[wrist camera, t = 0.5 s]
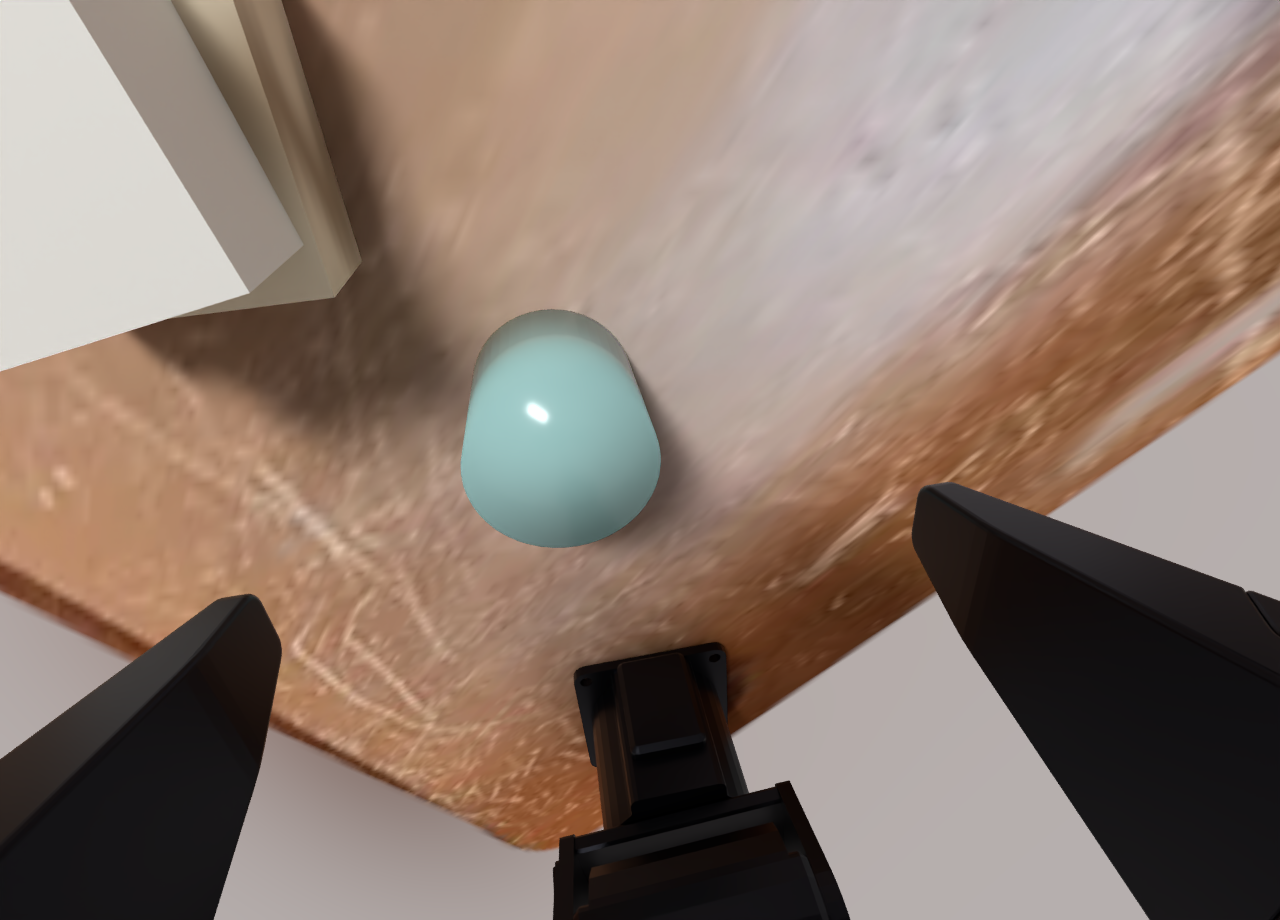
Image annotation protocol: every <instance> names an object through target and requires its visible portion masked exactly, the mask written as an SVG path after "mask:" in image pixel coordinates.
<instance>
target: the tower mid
mask: <svg viewBox="0 0 1280 920" xmlns="http://www.w3.org/2000/svg"><path fill="white" fill-rule="evenodd" d="M303 245H304V244H303V242H302V240H301V238H300V237H299V235H298V233H297V231H296V229H295V227H294V226H293V224H292V222H291V220H290V218H289V216H288V215H287V213H286V211H285V209H284V207H283V205H282V204H281V202H280V200H279V198H278V196H277V194H276V192H275V191H274V189H273V187H272V185H271V183H270V181H269V180H268V178H267V176H266V174H265V172H264V170H263V169H262V167H261V165H260V163H259V161H258V159H257V158H256V156H255V154H254V152H253V150H252V148H251V147H250V145H249V143H248V141H247V139H246V137H245V136H244V134H243V132H242V130H241V128H240V126H239V125H238V123H237V121H236V119H235V117H234V115H233V113H232V112H231V110H230V108H229V106H228V104H227V102H226V101H225V99H224V97H223V95H222V93H221V91H220V90H219V88H218V86H217V84H216V82H215V80H214V79H213V77H212V75H211V73H210V71H209V69H208V68H207V66H206V64H205V62H204V60H203V58H202V57H201V55H200V53H199V51H198V49H197V47H196V46H195V44H194V42H193V40H192V38H191V36H190V35H189V33H188V31H187V29H186V27H185V25H184V24H183V22H182V20H181V18H180V16H179V14H178V13H177V11H176V9H175V7H174V5H173V3H172V2H171V0H0V371H3V370H6V369H9V368H12V367H16V366H19V365H22V364H25V363H28V362H32V361H35V360H38V359H41V358H44V357H48V356H51V355H54V354H57V353H60V352H63V351H67V350H70V349H73V348H76V347H79V346H83V345H86V344H89V343H92V342H95V341H99V340H102V339H105V338H108V337H111V336H114V335H118V334H121V333H124V332H127V331H130V330H134V329H137V328H140V327H143V326H146V325H150V324H153V323H156V322H159V321H162V320H165V319H169V318H172V317H175V316H178V315H181V314H185V313H188V312H191V311H194V310H197V309H201V308H204V307H207V306H210V305H213V304H216V303H220V302H223V301H226V300H229V299H232V298H236V297H239V296H242V295H245V294H248V293H250V292H252V291H253V290H254V289H255V288H256V287H257V286H258V285H259V284H261V283H262V282H263V281H264V280H265V279H266V278H267V277H268V276H270V275H271V274H272V273H273V272H274V271H275V270H276V269H277V268H279V267H280V266H281V265H282V264H283V263H284V262H285V261H286V260H288V259H289V258H290V257H291V256H292V255H293V254H294V253H295V252H297V251H298V250H299V249H300V248H301V247H302V246H303Z"/></svg>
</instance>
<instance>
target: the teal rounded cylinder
mask: <svg viewBox="0 0 1280 920" xmlns="http://www.w3.org/2000/svg"><path fill="white" fill-rule="evenodd" d="M660 466H661V454H660V448H659V442H658V439H657V436H656V433H655V430H654V428H653V425H652V422H651V420H650V417H649V414H648V411H647V409H646V406H645V403H644V401H643V398H642V395H641V393H640V390H639V387H638V385H637V382H636V379H635V376H634V374H633V371H632V368H631V366H630V363H629V360H628V358H627V355H626V353H625V351H624V349H623V347H622V346H621V344H620V343H619V341H618V340H617V339H616V338H615V337H614V335H613V334H612V333H611V332H610V331H609V330H607V329H606V328H605V327H604V326H603V325H601V324H600V323H598V322H596V321H595V320H593V319H591V318H589V317H587V316H585V315H582V314H579V313H575V312H571V311H566V310H554V309H550V310H539V311H534V312H529V313H527V314H524V315H521V316H518V317H516V318H514V319H512V320H510V321H509V322H507V323H506V324H504V325H503V326H501V327H500V328H499V329H498V330H496V331H495V332H494V333H493V334H492V335H491V336H490V338H489V339H488V340H487V341H486V343H485V344H484V346H483V347H482V349H481V351H480V353H479V355H478V357H477V360H476V363H475V367H474V372H473V379H472V386H471V393H470V400H469V407H468V414H467V421H466V428H465V435H464V442H463V449H462V457H461V476H462V481H463V486H464V489H465V491H466V494H467V497H468V498H469V500H470V502H471V504H472V506H473V507H474V508H475V510H476V511H477V512H478V514H479V515H480V516H481V517H482V518H483V519H484V520H485V521H486V522H487V523H488V524H489V525H491V526H492V527H493V528H495V529H496V530H497V531H499V532H501V533H502V534H504V535H506V536H508V537H510V538H512V539H515V540H517V541H520V542H523V543H526V544H530V545H535V546H540V547H551V548H564V547H573V546H579V545H584V544H588V543H592V542H595V541H598V540H600V539H603V538H605V537H607V536H609V535H611V534H613V533H615V532H616V531H618V530H620V529H621V528H623V527H624V526H625V525H627V524H628V523H629V522H631V521H632V520H633V519H634V518H635V517H636V516H637V515H638V514H639V513H640V511H641V510H642V509H643V508H644V507H645V505H646V504H647V502H648V501H649V499H650V498H651V496H652V494H653V491H654V489H655V487H656V484H657V481H658V478H659V473H660Z"/></svg>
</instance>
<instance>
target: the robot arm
mask: <svg viewBox="0 0 1280 920" xmlns="http://www.w3.org/2000/svg"><path fill="white" fill-rule="evenodd" d="M912 542H913V546H914V549H915V551H916V553H917V555H918V557H919V559H920V561H921V563H922V565H923V567H924V569H925V570H926V572H927V574H928V576H929V578H930V580H931V582H932V584H933V586H934V588H935V590H936V591H937V593H938V595H939V597H940V599H941V601H942V603H943V605H944V607H945V609H946V611H947V612H948V614H949V616H950V618H951V620H952V622H953V624H954V626H955V627H956V629H957V631H958V633H959V634H960V636H961V638H962V640H963V641H964V643H965V644H966V646H967V648H968V649H969V651H970V652H971V654H972V655H973V657H974V658H975V660H976V661H977V663H978V664H979V666H980V667H981V669H982V670H983V672H984V673H985V675H986V676H987V678H988V679H989V681H990V682H991V683H992V685H993V687H994V688H995V690H996V691H997V693H998V694H999V696H1000V697H1001V699H1002V700H1003V702H1004V703H1005V705H1006V706H1007V707H1008V709H1009V710H1010V712H1011V713H1012V715H1013V717H1014V718H1015V720H1016V721H1017V723H1018V724H1019V725H1020V727H1021V729H1022V730H1023V731H1024V733H1025V734H1026V736H1027V737H1028V739H1029V740H1030V742H1031V743H1032V745H1033V746H1034V748H1035V749H1036V751H1037V752H1038V754H1039V755H1040V757H1041V758H1042V760H1043V761H1044V763H1045V764H1046V766H1047V767H1048V769H1049V770H1050V772H1051V773H1052V775H1053V776H1054V778H1055V779H1056V781H1057V782H1058V784H1059V785H1060V787H1061V788H1062V790H1063V791H1064V793H1065V794H1066V796H1067V797H1068V799H1069V800H1070V802H1071V803H1072V805H1073V806H1074V808H1075V809H1076V811H1077V812H1078V814H1079V815H1080V816H1081V818H1082V819H1083V821H1084V822H1085V824H1086V826H1087V827H1088V829H1089V830H1090V831H1091V833H1092V834H1093V836H1094V837H1095V839H1096V840H1097V842H1098V843H1099V845H1100V846H1101V848H1102V849H1103V851H1104V852H1105V854H1106V855H1107V857H1108V858H1109V860H1110V861H1111V863H1112V864H1113V866H1114V867H1115V869H1116V870H1117V872H1118V873H1119V875H1120V876H1121V878H1122V879H1123V881H1124V882H1125V883H1126V885H1127V887H1128V888H1129V890H1130V891H1131V893H1132V894H1133V896H1134V897H1135V899H1136V900H1137V902H1138V903H1139V905H1140V906H1141V907H1142V909H1143V911H1144V912H1145V914H1146V915H1147V917H1148V918H1149V920H1280V601H1278V600H1276V599H1273V598H1270V597H1267V596H1265V595H1262V594H1259V593H1256V592H1254V591H1247V592H1245V590H1244V589H1243V588H1242V587H1239V586H1237V585H1234V584H1231V583H1228V582H1226V581H1223V580H1220V579H1217V578H1214V577H1212V576H1209V575H1206V574H1204V573H1201V572H1198V571H1195V570H1192V569H1190V568H1187V567H1184V566H1181V565H1179V564H1176V563H1173V562H1171V561H1167V560H1165V559H1162V558H1160V557H1157V556H1154V555H1151V554H1149V553H1146V552H1143V551H1140V550H1138V549H1135V548H1132V547H1129V546H1126V545H1124V544H1121V543H1118V542H1116V541H1113V540H1110V539H1107V538H1105V537H1102V536H1099V535H1096V534H1093V533H1091V532H1088V531H1085V530H1082V529H1080V528H1077V527H1074V526H1072V525H1069V524H1066V523H1063V522H1061V521H1058V520H1055V519H1052V518H1050V517H1047V516H1044V515H1041V514H1039V513H1036V512H1033V511H1030V510H1028V509H1025V508H1022V507H1019V506H1017V505H1014V504H1011V503H1008V502H1006V501H1003V500H1000V499H997V498H995V497H992V496H989V495H986V494H984V493H981V492H978V491H975V490H972V489H970V488H967V487H964V486H961V485H959V484H956V483H953V482H945V483H939V484H932V485H926V486H924V487H923V488H921V490H920V491H919V493H918V497H917V503H916V509H915V515H914V521H913V527H912ZM713 654H714V655H713ZM281 656H282V648H281V642H280V639H279V636H278V634H277V632H276V630H275V628H274V626H273V624H272V622H271V620H270V618H269V616H268V614H267V612H266V610H265V608H264V606H263V605H262V603H261V601H260V600H259V598H258V597H256V596H255V595H252V594H244V595H237V596H231V597H225V598H221V599H218V600H216V601H214V602H213V603H212V604H210V605H209V606H208V607H206V608H205V609H204V610H202V611H201V612H199V613H198V614H197V615H195V616H194V617H193V618H191V619H190V620H189V621H187V622H186V623H185V624H183V625H182V626H180V627H179V628H178V629H176V630H175V631H174V632H172V633H171V634H170V635H168V636H167V637H166V638H164V639H163V640H161V641H160V642H159V643H157V644H156V645H155V646H153V647H152V648H151V649H149V650H148V651H147V652H145V653H144V654H142V655H141V656H140V657H138V658H137V659H136V660H134V661H133V662H132V663H130V664H129V665H128V666H126V667H125V668H124V669H122V670H121V671H119V672H118V673H117V674H115V675H114V676H113V677H111V678H110V679H109V680H108V681H106V682H104V683H103V684H102V685H100V686H99V687H98V688H96V689H95V690H94V691H92V692H91V693H90V694H88V695H87V696H85V697H84V698H83V699H81V700H80V701H79V702H77V703H76V704H75V705H73V706H72V707H71V708H69V709H68V710H66V711H65V712H64V713H62V714H61V715H60V716H58V717H57V718H56V719H54V720H53V721H52V722H50V723H49V724H48V725H46V726H45V727H43V728H42V729H41V730H39V731H38V732H37V733H35V734H34V735H33V736H31V737H30V738H28V739H27V740H26V741H24V742H23V743H22V744H20V745H19V746H18V747H16V748H15V749H14V750H12V751H11V752H9V753H8V754H7V755H6V756H4V757H3V758H1V759H0V920H214V916H215V913H216V909H217V907H218V904H219V900H220V897H221V894H222V891H223V887H224V884H225V881H226V878H227V874H228V871H229V868H230V865H231V861H232V858H233V855H234V852H235V848H236V845H237V842H238V839H239V836H240V832H241V829H242V826H243V822H244V819H245V816H246V813H247V810H248V806H249V803H250V800H251V797H252V794H253V790H254V787H255V783H256V780H257V776H258V773H259V769H260V765H261V761H262V756H263V751H264V747H265V742H266V736H267V731H268V726H269V721H270V715H271V710H272V705H273V700H274V694H275V689H276V684H277V678H278V673H279V668H280V663H281ZM585 678H587V679H585ZM574 686H575V690H576V695H577V700H578V704H579V709H580V714H581V719H582V723H583V728H584V733H585V738H586V742H587V747H588V752H589V756H590V761H591V764H592V765H593V766H595V767H597V773H598V782H599V791H600V800H601V809H602V817H603V826H604V830H601V831H597V832H593V833H589V834H585V835H581V836H577V837H575V835H574V834H573V835H570V836H566V837H562V838H560V842H559V861H556V862H555V867H554V868H553V882H554V908H553V920H850V917H849V914H848V911H847V908H846V906H845V903H844V900H843V897H842V895H841V892H840V889H839V887H838V884H837V882H836V879H835V877H834V875H833V873H832V870H831V868H830V866H829V864H828V862H827V860H826V858H825V855H824V853H823V851H822V849H821V847H820V845H819V843H818V840H817V838H816V836H815V834H814V832H813V830H812V828H811V826H810V823H809V821H808V819H807V817H806V815H805V813H804V811H803V808H802V806H801V804H800V802H799V800H798V798H797V796H796V794H795V791H794V789H793V787H792V785H791V783H790V781H785V782H781V783H777V784H775V787H772V788H768V789H764V790H760V791H756V792H752V793H749V792H748V789H747V785H746V782H745V779H744V776H743V773H742V770H741V766H740V763H739V760H738V757H737V754H736V751H735V747H734V744H733V741H732V738H731V735H730V732H729V728H728V723H727V673H726V654H725V651H724V648H723V646H722V645H721V644H719V643H709V644H703V645H698V646H693V647H687V648H682V649H677V650H671V651H666V652H660V653H655V654H650V655H644V656H639V657H634V658H628V659H623V660H617V661H612V662H607V663H601V664H596V665H591V666H585V667H582V668H579V669H578V670H576V671H575V673H574Z"/></svg>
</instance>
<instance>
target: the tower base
mask: <svg viewBox="0 0 1280 920" xmlns="http://www.w3.org/2000/svg"><path fill="white" fill-rule="evenodd" d="M171 2H172V3H173V5H174V7H175V9H176V11H177V13H178V14H179V16H180V18H181V20H182V22H183V24H184V25H185V27H186V29H187V31H188V33H189V35H190V36H191V38H192V40H193V42H194V44H195V46H196V47H197V49H198V51H199V53H200V55H201V57H202V58H203V60H204V62H205V64H206V66H207V68H208V69H209V71H210V73H211V75H212V77H213V79H214V80H215V82H216V84H217V86H218V88H219V90H220V91H221V93H222V95H223V97H224V99H225V101H226V102H227V104H228V106H229V108H230V110H231V112H232V113H233V115H234V117H235V119H236V121H237V123H238V125H239V126H240V128H241V130H242V132H243V134H244V136H245V137H246V139H247V141H248V143H249V145H250V147H251V148H252V150H253V152H254V154H255V156H256V158H257V159H258V161H259V163H260V165H261V167H262V169H263V170H264V172H265V174H266V176H267V178H268V180H269V181H270V183H271V185H272V187H273V189H274V191H275V192H276V194H277V196H278V198H279V200H280V202H281V204H282V205H283V207H284V209H285V211H286V213H287V215H288V216H289V218H290V220H291V222H292V224H293V226H294V227H295V229H296V231H297V233H298V235H299V237H300V238H301V240H302V242H303V244H304V245H303V246H302V247H301V248H300V249H299V250H298V251H297V252H295V253H294V254H293V255H292V256H291V257H290V258H289V259H288V260H286V261H285V262H284V263H283V264H282V265H281V266H280V267H279V268H277V269H276V270H275V271H274V272H273V273H272V274H271V275H270V276H268V277H267V278H266V279H265V280H264V281H263V282H262V283H261V284H259V285H258V286H257V287H256V288H255V289H254V290H253V291H252V292H250V293H248V294H245V295H242V296H239V297H236V298H232V299H229V300H226V301H223V302H220V303H216V304H213V305H210V306H207V307H204V308H201V309H197V310H194V311H191V312H188V313H185V314H181V315H178V316H175V317H172V318H178V317H186V316H193V315H201V314H209V313H217V312H225V311H233V310H241V309H249V308H257V307H265V306H272V305H280V304H288V303H296V302H304V301H312V300H320V299H328V298H335V296H336V295H337V294H338V293H339V291H340V290H341V289H342V287H343V286H344V285H345V283H346V282H347V281H348V279H349V278H350V277H351V276H352V274H353V273H354V272H355V270H356V269H357V268H358V266H359V265H360V264H361V263H362V260H361V256H360V253H359V250H358V247H357V243H356V240H355V237H354V234H353V230H352V227H351V224H350V221H349V218H348V214H347V211H346V208H345V205H344V201H343V198H342V195H341V192H340V188H339V185H338V182H337V179H336V175H335V172H334V169H333V166H332V162H331V159H330V156H329V153H328V149H327V146H326V143H325V140H324V136H323V133H322V130H321V127H320V124H319V120H318V117H317V114H316V111H315V107H314V104H313V101H312V98H311V94H310V91H309V88H308V85H307V81H306V78H305V75H304V72H303V68H302V65H301V62H300V59H299V55H298V52H297V49H296V46H295V43H294V39H293V36H292V33H291V30H290V26H289V23H288V20H287V17H286V13H285V10H284V7H283V4H282V0H171ZM169 319H170V318H169Z"/></svg>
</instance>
